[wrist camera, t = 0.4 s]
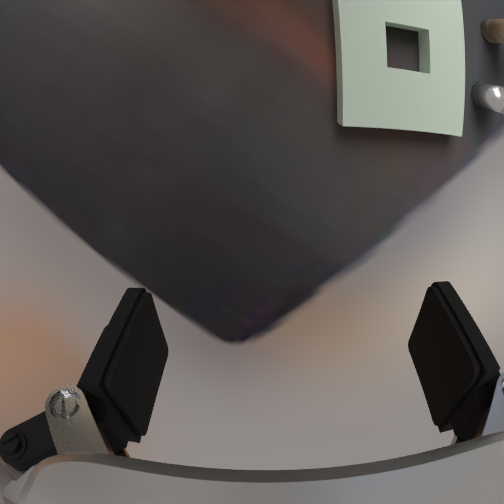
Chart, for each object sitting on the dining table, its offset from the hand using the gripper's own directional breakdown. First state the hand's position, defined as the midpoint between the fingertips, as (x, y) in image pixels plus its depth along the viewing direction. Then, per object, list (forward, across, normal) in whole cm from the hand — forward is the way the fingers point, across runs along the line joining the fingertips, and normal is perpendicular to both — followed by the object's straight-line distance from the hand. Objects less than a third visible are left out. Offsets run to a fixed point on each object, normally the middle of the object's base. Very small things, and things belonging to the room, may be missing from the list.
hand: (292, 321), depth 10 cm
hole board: (+30, -15, -12) cm, 36 cm away
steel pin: (+30, -28, -8) cm, 42 cm away
